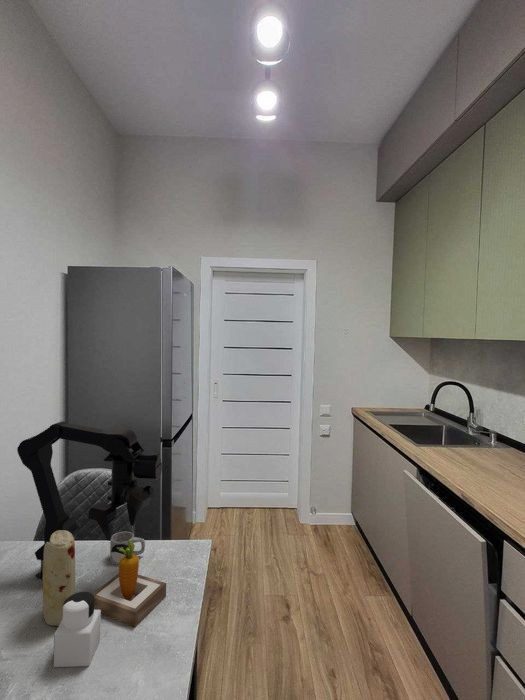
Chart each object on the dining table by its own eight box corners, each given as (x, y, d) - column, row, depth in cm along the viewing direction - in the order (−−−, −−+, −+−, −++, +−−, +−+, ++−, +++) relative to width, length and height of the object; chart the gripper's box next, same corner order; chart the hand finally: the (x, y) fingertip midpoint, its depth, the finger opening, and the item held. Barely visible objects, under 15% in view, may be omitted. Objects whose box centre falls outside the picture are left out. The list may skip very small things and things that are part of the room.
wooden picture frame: (95, 606, 97) (95, 595, 97) (123, 583, 106) (123, 573, 106) (134, 621, 93) (135, 608, 93) (160, 596, 102) (160, 584, 102)
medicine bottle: (67, 641, 87) (68, 587, 86) (100, 640, 87) (101, 587, 87) (52, 668, 79) (53, 610, 79) (89, 667, 80) (90, 609, 80)
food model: (79, 622, 92) (81, 538, 92) (48, 636, 88) (50, 548, 87) (68, 600, 99) (69, 522, 99) (38, 612, 95) (39, 530, 94)
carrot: (131, 609, 97) (133, 549, 96) (113, 605, 98) (114, 546, 97) (142, 596, 101) (143, 539, 101) (124, 593, 103) (125, 536, 102)
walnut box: (89, 609, 96) (89, 596, 96) (123, 582, 108) (123, 569, 108) (135, 627, 91) (135, 612, 91) (165, 596, 103) (166, 583, 102)
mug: (108, 565, 115) (108, 543, 115) (111, 553, 122) (112, 532, 121) (143, 562, 117) (144, 540, 117) (145, 550, 124) (145, 529, 124)
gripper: (122, 494, 97) (120, 556, 97) (167, 471, 114) (165, 524, 115) (87, 486, 101) (86, 546, 101) (135, 465, 118) (134, 516, 119)
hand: (121, 532), depth 109 cm, fingers open, 9 cm apart
